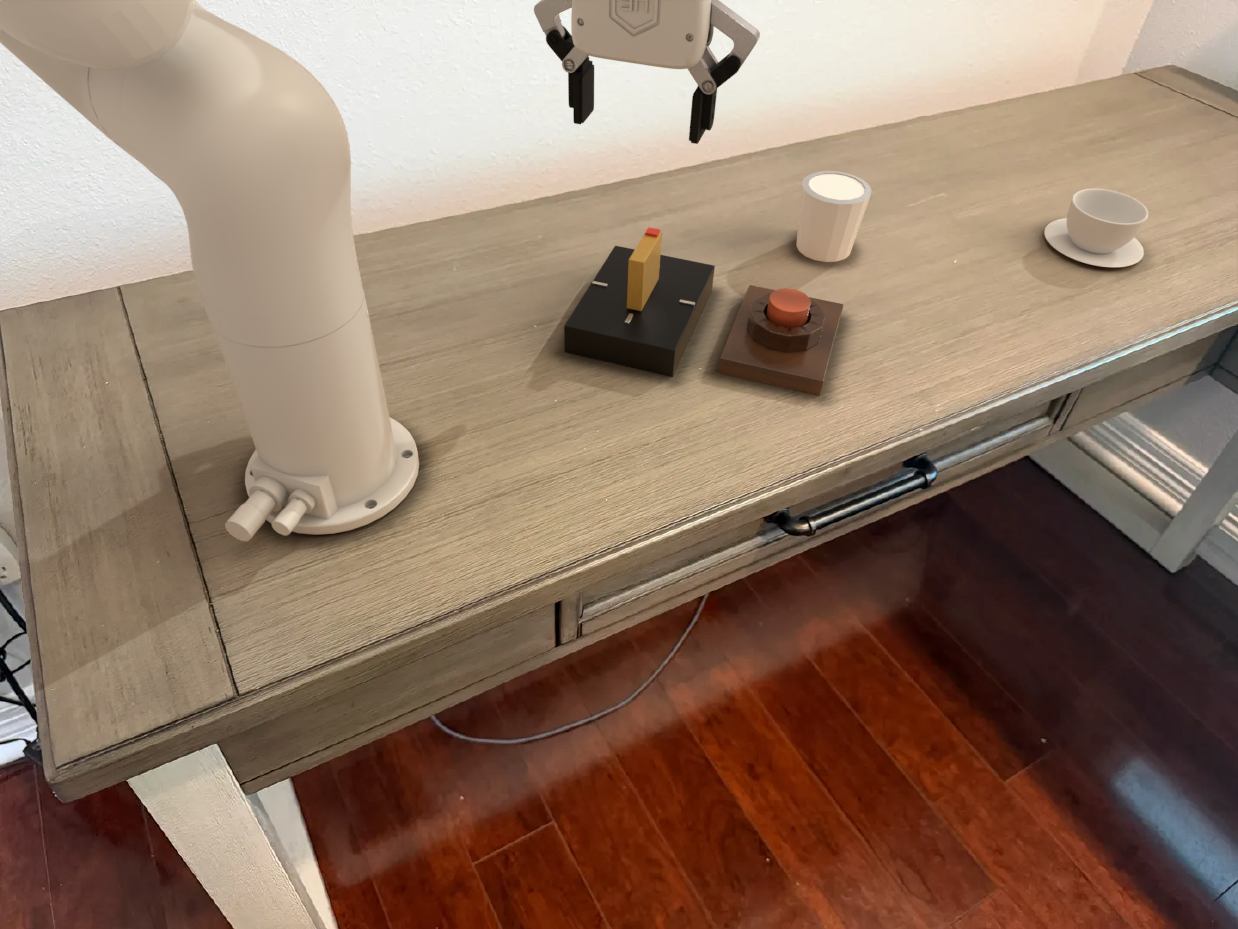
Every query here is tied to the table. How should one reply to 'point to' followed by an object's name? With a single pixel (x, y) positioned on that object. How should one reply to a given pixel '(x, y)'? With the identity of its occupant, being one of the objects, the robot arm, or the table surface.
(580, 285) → the table surface
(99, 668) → the table surface
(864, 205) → the beige cup
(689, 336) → the plate
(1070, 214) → the teacup
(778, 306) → the button
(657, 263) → the yellow flat block
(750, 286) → the button block
